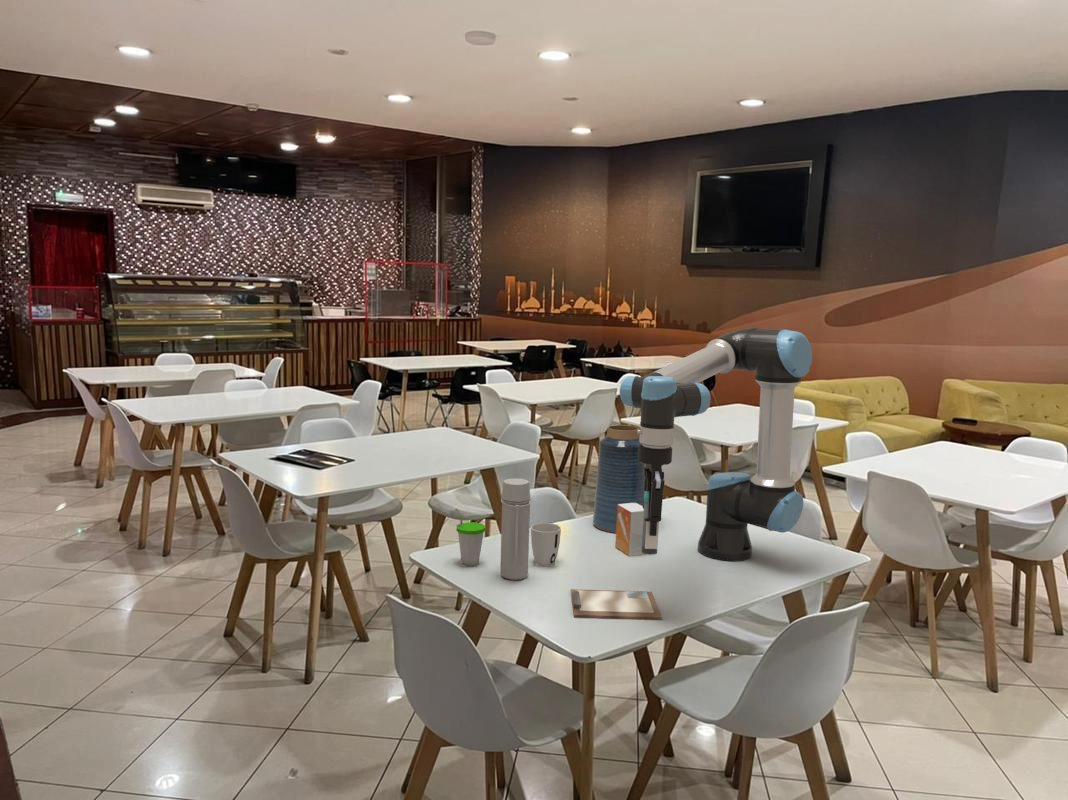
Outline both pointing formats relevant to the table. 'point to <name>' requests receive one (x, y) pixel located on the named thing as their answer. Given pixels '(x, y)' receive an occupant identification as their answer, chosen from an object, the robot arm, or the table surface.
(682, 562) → the table surface
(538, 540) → the cup
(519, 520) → the water bottle
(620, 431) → the vase
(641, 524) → the small box
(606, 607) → the tan flat rectangular tray
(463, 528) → the cup
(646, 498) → the marker
